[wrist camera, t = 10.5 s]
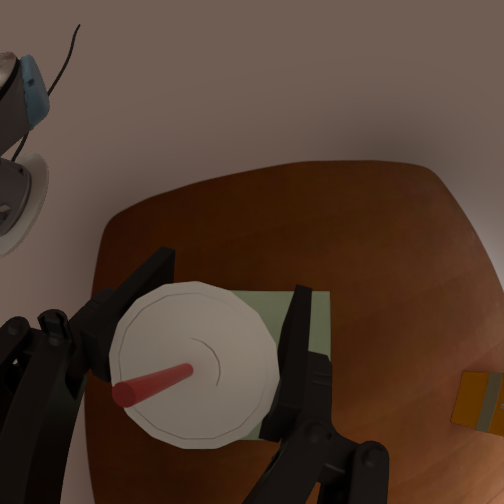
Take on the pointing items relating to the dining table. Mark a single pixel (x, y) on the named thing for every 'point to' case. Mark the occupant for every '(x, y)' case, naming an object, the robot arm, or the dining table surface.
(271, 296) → the shelf
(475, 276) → the dining table surface
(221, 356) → the beverage cup
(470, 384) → the orange juice
